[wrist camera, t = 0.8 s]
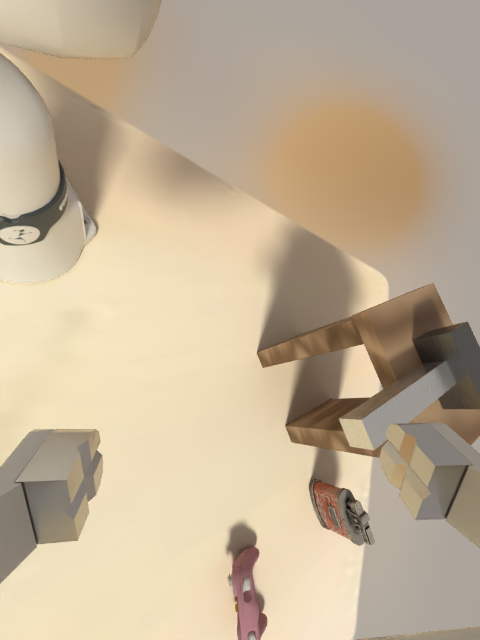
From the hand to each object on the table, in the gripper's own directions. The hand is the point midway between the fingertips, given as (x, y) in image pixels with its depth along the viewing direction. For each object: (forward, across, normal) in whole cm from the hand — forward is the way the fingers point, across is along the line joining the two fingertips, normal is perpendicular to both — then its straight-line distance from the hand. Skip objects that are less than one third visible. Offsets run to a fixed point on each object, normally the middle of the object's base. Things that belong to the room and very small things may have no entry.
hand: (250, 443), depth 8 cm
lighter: (+29, -19, +41) cm, 54 cm away
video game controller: (+20, -5, +45) cm, 49 cm away
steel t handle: (+17, -19, +10) cm, 27 cm away
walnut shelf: (+40, -16, +24) cm, 49 cm away
